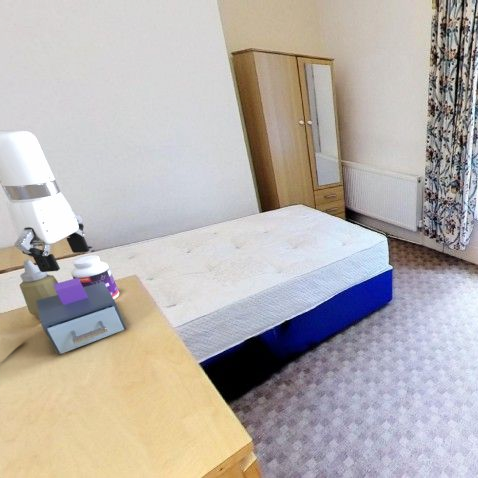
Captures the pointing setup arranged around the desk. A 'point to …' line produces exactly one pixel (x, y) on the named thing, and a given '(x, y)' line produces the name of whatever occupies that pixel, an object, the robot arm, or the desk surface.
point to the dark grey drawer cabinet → (74, 307)
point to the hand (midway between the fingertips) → (67, 260)
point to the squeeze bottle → (36, 286)
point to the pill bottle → (94, 273)
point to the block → (70, 291)
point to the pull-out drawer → (85, 329)
